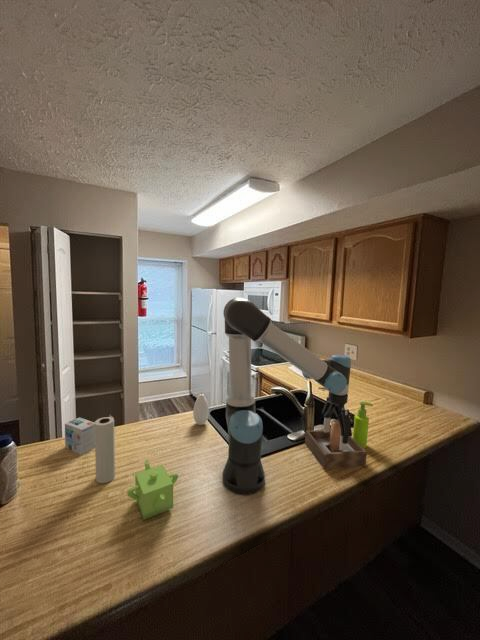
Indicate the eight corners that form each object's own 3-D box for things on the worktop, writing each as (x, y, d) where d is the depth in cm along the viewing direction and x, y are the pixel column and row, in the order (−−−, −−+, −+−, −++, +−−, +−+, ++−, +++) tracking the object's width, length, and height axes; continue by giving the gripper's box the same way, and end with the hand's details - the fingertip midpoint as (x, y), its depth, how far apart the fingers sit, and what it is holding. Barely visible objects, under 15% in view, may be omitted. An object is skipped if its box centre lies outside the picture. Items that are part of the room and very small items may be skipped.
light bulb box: (64, 448, 112) (63, 423, 111) (80, 440, 118) (79, 416, 117) (81, 455, 108) (80, 429, 107) (96, 447, 114) (96, 422, 113)
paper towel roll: (102, 486, 92) (101, 426, 89) (92, 479, 95) (90, 421, 92) (121, 474, 98) (120, 417, 96) (110, 468, 101) (109, 413, 99)
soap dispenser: (370, 449, 120) (374, 406, 118) (353, 447, 121) (357, 404, 119) (366, 442, 126) (370, 401, 123) (351, 440, 127) (354, 399, 125)
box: (323, 469, 105) (324, 454, 105) (304, 443, 123) (305, 430, 122) (365, 465, 108) (367, 451, 108) (341, 440, 126) (342, 428, 125)
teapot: (145, 485, 93) (145, 456, 92) (182, 490, 91) (183, 461, 90) (119, 522, 78) (119, 488, 77) (163, 530, 76) (164, 495, 75)
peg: (331, 456, 113) (334, 425, 112) (327, 451, 117) (329, 420, 116) (340, 456, 114) (343, 424, 113) (335, 450, 118) (338, 420, 116)
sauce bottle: (210, 421, 140) (211, 387, 138) (206, 428, 132) (207, 393, 130) (196, 419, 141) (196, 386, 139) (190, 426, 133) (191, 391, 131)
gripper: (365, 404, 101) (359, 457, 103) (331, 381, 126) (328, 425, 128) (346, 405, 100) (341, 459, 102) (316, 381, 124) (313, 426, 127)
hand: (334, 440), depth 115 cm, fingers open, 13 cm apart
